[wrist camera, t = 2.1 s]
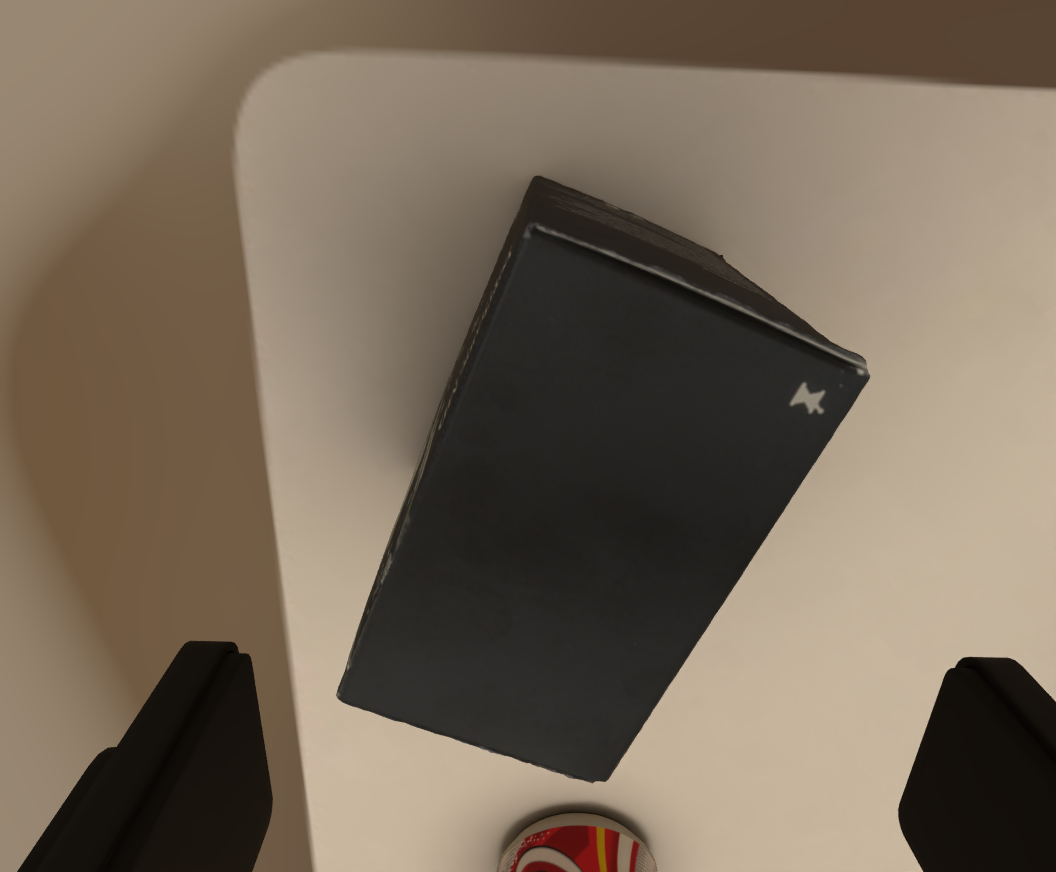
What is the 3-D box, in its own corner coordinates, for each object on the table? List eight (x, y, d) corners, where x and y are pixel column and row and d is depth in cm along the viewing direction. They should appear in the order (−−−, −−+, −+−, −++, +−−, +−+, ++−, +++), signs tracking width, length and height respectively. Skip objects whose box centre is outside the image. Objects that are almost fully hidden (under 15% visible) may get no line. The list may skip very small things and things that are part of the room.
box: (524, 164, 20) (525, 206, 10) (730, 255, 21) (905, 370, 11) (405, 475, 24) (326, 714, 14) (582, 538, 25) (620, 799, 15)
